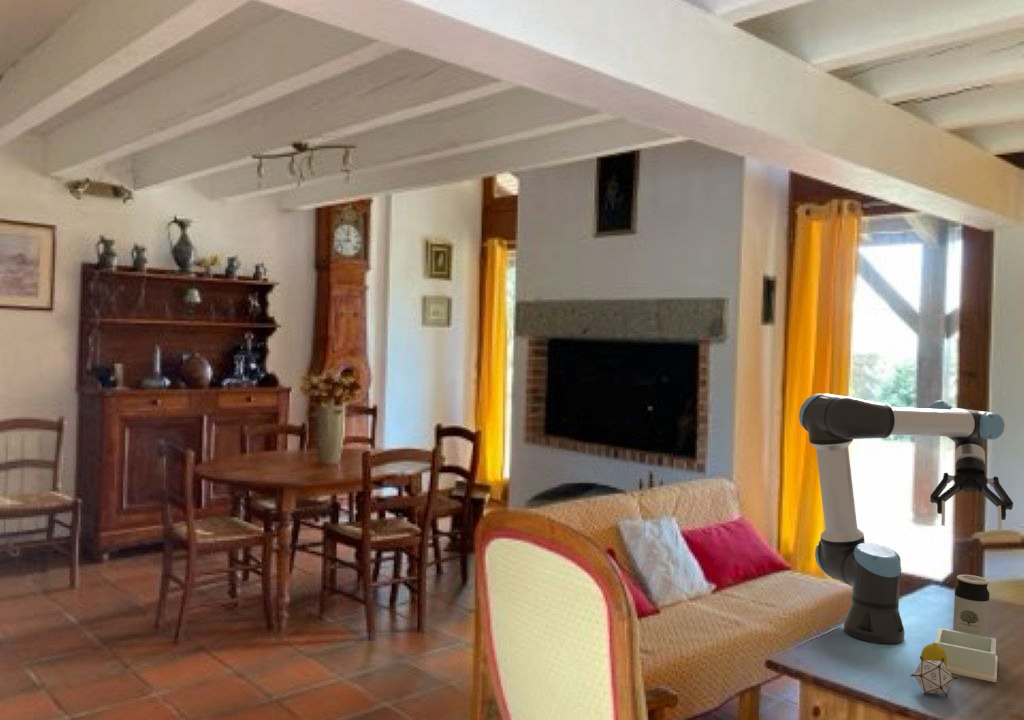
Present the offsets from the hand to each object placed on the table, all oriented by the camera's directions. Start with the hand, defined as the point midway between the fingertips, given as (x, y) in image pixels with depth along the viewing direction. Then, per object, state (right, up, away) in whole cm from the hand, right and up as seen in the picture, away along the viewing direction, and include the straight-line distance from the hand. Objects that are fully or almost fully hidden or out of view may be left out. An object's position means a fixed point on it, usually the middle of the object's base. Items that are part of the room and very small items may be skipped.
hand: (971, 525), depth 230 cm
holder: (-13, -30, -21) cm, 39 cm away
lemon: (-26, -30, -30) cm, 50 cm away
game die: (-31, -30, -41) cm, 59 cm away
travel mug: (-5, -30, -9) cm, 32 cm away
